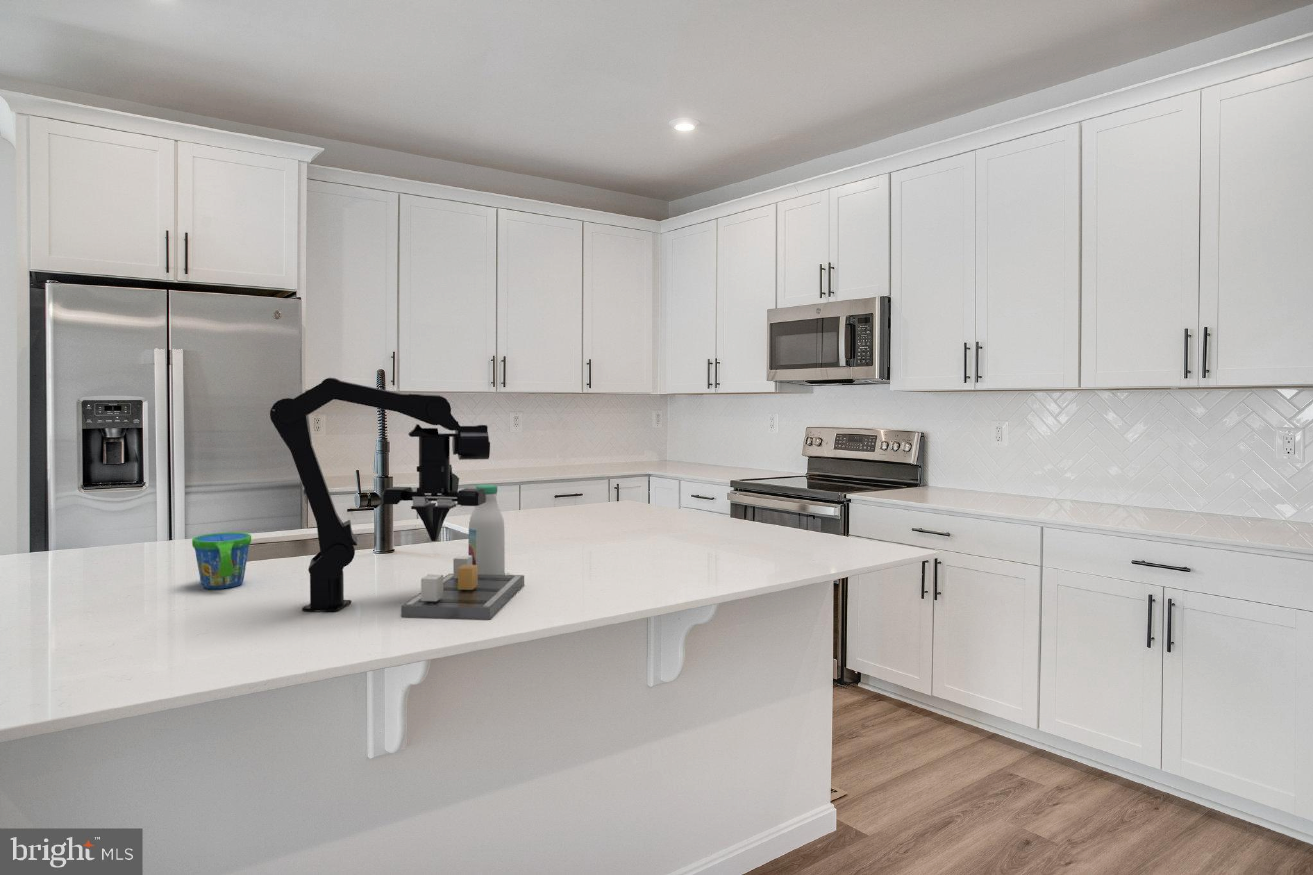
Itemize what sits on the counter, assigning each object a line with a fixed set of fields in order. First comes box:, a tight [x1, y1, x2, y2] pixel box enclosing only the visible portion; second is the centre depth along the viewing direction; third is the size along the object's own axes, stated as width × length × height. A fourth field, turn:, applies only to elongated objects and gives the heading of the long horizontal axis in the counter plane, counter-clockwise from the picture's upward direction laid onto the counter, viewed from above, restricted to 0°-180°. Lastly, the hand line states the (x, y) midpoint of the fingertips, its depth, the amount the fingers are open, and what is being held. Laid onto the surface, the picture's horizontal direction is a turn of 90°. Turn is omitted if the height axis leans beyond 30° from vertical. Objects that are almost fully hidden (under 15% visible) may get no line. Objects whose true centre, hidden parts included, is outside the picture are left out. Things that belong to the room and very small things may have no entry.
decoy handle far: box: [452, 554, 472, 578], centre depth 159 cm, size 4×3×4 cm
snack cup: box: [191, 532, 252, 590], centre depth 159 cm, size 16×10×10 cm
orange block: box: [458, 565, 478, 590], centre depth 150 cm, size 4×3×4 cm
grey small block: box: [420, 573, 444, 601], centre depth 141 cm, size 4×3×4 cm
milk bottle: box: [467, 484, 506, 575], centre depth 170 cm, size 8×8×20 cm
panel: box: [400, 573, 525, 620], centre depth 150 cm, size 26×16×2 cm, turn 177°
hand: (434, 540), depth 150 cm, fingers closed
